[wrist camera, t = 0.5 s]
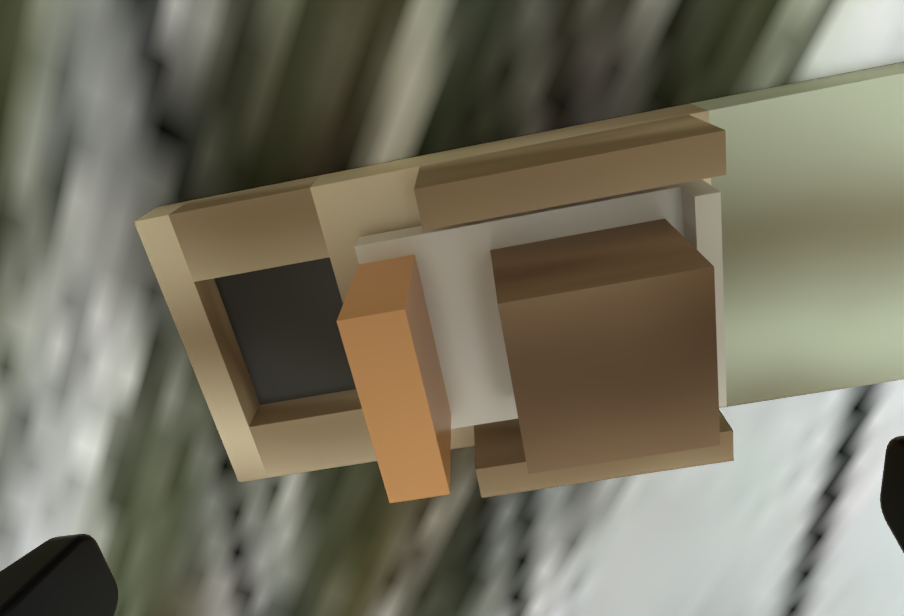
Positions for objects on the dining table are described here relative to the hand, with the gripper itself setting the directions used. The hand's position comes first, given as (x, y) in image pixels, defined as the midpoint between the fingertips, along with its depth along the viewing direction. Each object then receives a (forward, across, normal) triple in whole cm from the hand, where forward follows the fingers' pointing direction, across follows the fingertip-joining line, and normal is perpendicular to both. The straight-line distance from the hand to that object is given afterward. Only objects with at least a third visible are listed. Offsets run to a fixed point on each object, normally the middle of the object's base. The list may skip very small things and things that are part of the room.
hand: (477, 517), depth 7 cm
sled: (+11, -2, +3) cm, 12 cm away
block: (+10, -3, +3) cm, 11 cm away
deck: (+13, -3, +2) cm, 14 cm away
